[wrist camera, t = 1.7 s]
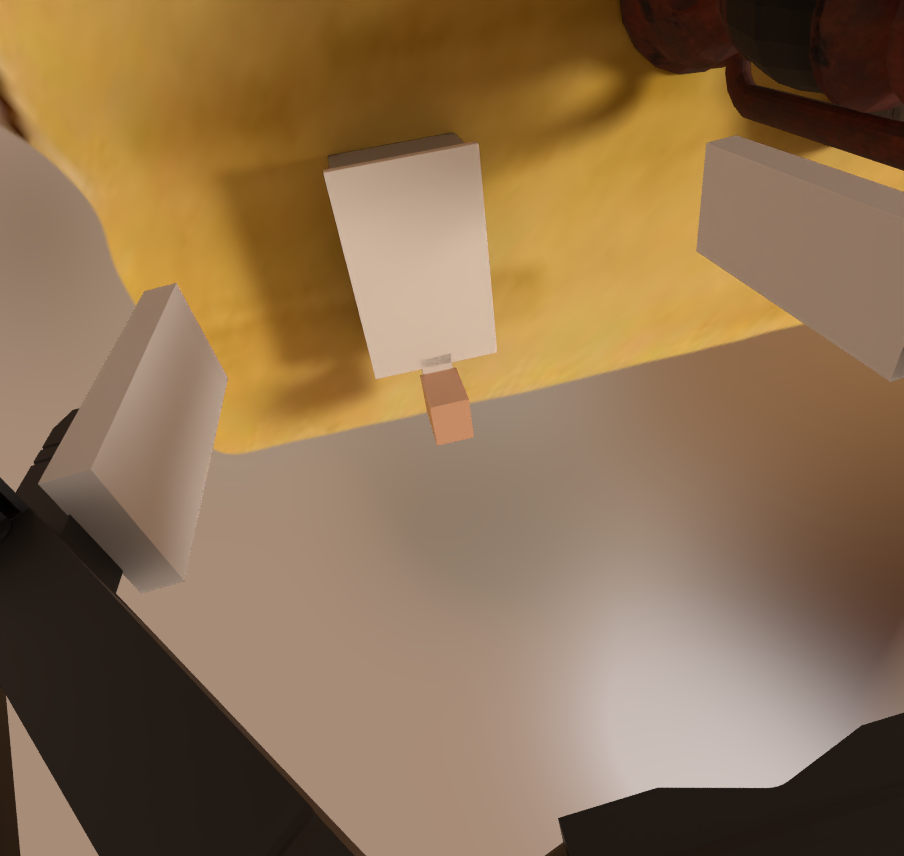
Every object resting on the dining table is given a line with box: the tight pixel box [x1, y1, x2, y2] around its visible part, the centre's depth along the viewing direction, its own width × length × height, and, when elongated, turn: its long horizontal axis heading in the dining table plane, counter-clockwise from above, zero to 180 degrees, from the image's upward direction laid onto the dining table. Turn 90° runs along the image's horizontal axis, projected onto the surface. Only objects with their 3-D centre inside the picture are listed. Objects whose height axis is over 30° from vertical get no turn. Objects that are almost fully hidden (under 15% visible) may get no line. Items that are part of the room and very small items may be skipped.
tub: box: [328, 133, 465, 169], centre depth 46 cm, size 16×10×6 cm, turn 8°
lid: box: [323, 141, 497, 445], centre depth 44 cm, size 21×11×7 cm, turn 8°
